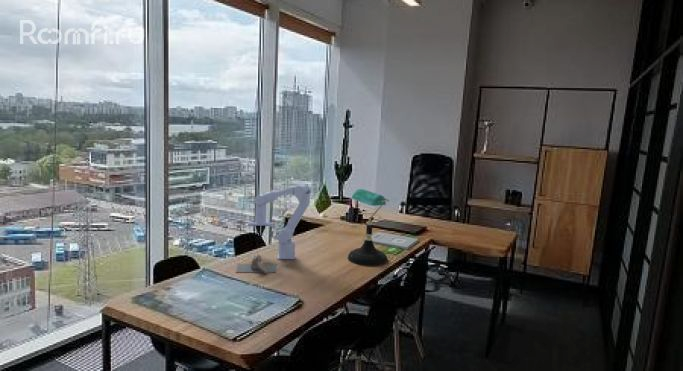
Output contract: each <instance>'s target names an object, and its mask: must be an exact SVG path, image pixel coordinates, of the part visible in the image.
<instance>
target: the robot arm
mask: <svg viewBox="0 0 683 371" xmlns="http://www.w3.org/2000/svg"><path fill="white" fill-rule="evenodd" d="M289 194H290V195H292V196H293V195H294V196H295V198H296V199H297V200H298V203H299V204H298V206H297V207H296V209H295V210H294V211H293V213H292V215H291V217H290V219H289V220H288V222H287V224H286V225H285V227H283V229H282V230H281V231H280V232H279V233H278V234H277V236H276V240H277V241H278V249H277V250H278V252H277V260H295V257H296V256H295V255H296V251H295V250H296V249H295V248H296V243H295V242H293V241H292V239H293V236H294V233H295V229H296V227H297V226H298V224H299V222H300V220H301V219H302V218H303V215H304V214H305V213H306V211H307V209H308V207H309V205H310V204H311V203H310V202H311V200H310V199H311V188H310V187H309V185H308V184H306V183H302V184H296V185H293V186H288V187H286V188H284V189H281V190H278V191H276V190H272V189H270V190H269V191H268V192H262V194H258V195H257V196H255V198H254V203H255V221H250V222H249V221H248V222H247V227H255V229H256V231H257V234H258V239H259V240H262V238H263V233H264V231H265V230H266V227H271V228H272V227H274V225H275V224H274V222H271V221H270V222H268V221H267V204H269V203H272V202H275V201H278V199H279V197H282V196H286V195H289Z"/></svg>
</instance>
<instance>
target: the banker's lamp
mask: <svg viewBox="0 0 683 371" xmlns="http://www.w3.org/2000/svg"><path fill="white" fill-rule="evenodd" d="M351 199H352V200H355V201H357V202H360V203H363V204H365V205H368V206H372V207H373V206H379V207H378V208H377V209H376V210H375V212H374V213H372V215H371V216H370V217H369V218H368V221H366V232H365V236H366V237H365V239H366V240H365V242H364V241H363V244H362V245H361V246H360V247H359V248H358V247H357V248H355V249H353V250H351V251H350V252H349V253H348V256H347V259H348V261H349V262H351V263H353V264H356V265H358V266H359V265H360V266H367V267H375V266H376V267H377V266H381V265H382V266H383V265H385V264H386V263H387V262H388V257H387V255H386V253H385V252H384V251H382V250H380V249H377V248H376V246H375V244H373V242H372V238H371V236H372V235H373V224H374V223H373V221H372V219H373V217H374V216H375V215H376V214H377V212H378V211H379V210H380V209H381V208H382V207H383V206H386V205H387V202H390V199H388V198H385V196H383V195H382V194H379V193H375V192H372V191H369V190H367V189H363V188H358V189H356V190H354V193H353V195H352V196H351Z"/></svg>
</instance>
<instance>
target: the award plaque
mask: <svg viewBox="0 0 683 371" xmlns="http://www.w3.org/2000/svg"><path fill="white" fill-rule="evenodd" d="M371 238H372V242H373V244H374V245H379V246H384V245H385V247H389V246H391V248H394V247H397V248H396V249H400V248H402V249H401V250H406V251H407V250H409V249H410V248H412V246H414V245H415V244H416V243H418V242H419V238H416V237H410V236H404V235H403V236H402V235H398V234H391V233H387V232H381V231H380V232H379V231H377V232H376V233H372V236H371ZM365 240H366V238H363V243H364V242H365Z"/></svg>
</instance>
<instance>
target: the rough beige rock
mask: <svg viewBox="0 0 683 371" xmlns="http://www.w3.org/2000/svg"><path fill="white" fill-rule="evenodd" d="M250 264H251V268H253V269H261V270H262V271H264V272H265V274H268V271H269V270H268V267H267V266H265V265H264V264H265V263H264V262H262V256H261V255H259V254H257V256H254V257H253V259H252V260H251V263H250Z"/></svg>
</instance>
